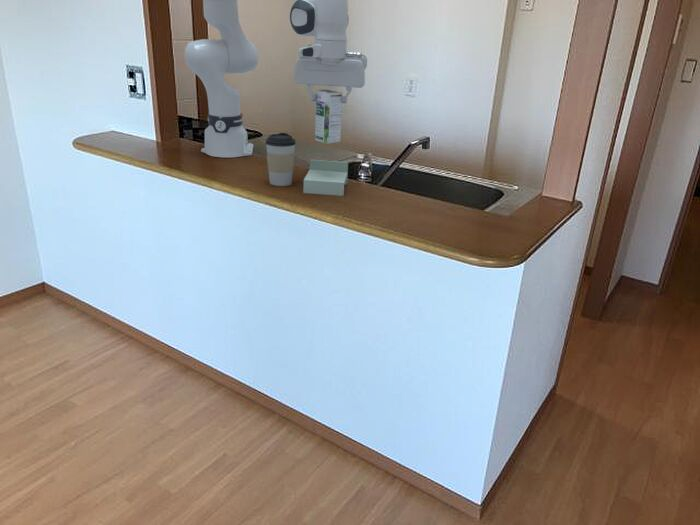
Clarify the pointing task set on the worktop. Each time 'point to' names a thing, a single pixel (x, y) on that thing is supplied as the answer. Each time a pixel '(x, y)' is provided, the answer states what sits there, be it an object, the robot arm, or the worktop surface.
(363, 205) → the worktop surface
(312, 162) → the shelf
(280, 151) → the coffee cup
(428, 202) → the worktop surface
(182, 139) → the worktop surface
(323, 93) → the syrup box
